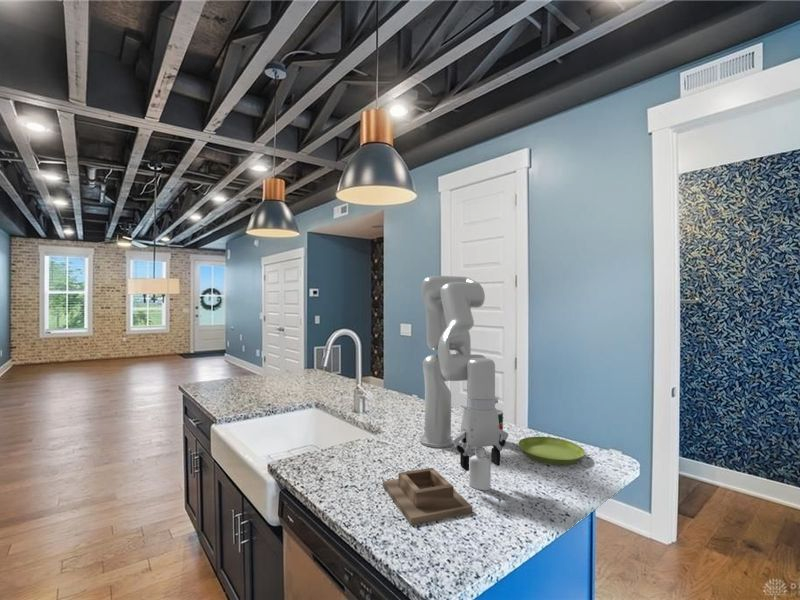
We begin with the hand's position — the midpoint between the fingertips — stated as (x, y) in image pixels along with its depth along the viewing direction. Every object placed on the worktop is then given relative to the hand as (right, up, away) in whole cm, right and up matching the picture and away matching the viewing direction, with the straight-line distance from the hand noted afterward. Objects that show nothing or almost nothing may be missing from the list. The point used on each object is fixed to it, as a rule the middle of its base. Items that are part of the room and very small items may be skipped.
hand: (480, 466), depth 110 cm
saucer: (+28, -7, +24) cm, 38 cm away
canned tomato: (+11, -6, +37) cm, 39 cm away
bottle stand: (-16, -6, -7) cm, 18 cm away
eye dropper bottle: (0, -6, 0) cm, 6 cm away
